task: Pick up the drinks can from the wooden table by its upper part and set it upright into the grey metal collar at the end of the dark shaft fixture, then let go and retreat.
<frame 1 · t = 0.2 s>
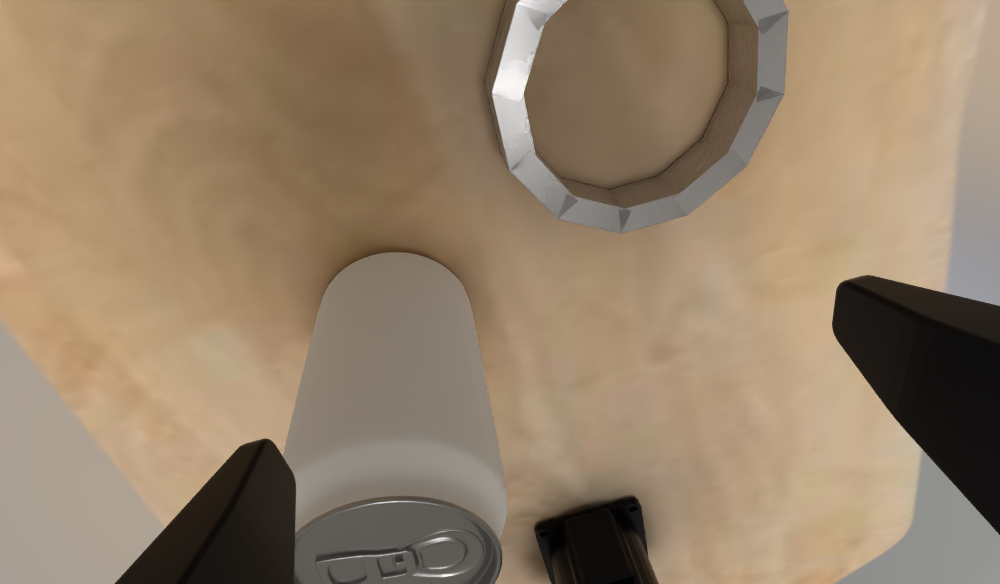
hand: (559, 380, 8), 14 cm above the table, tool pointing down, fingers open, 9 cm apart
can: (397, 310, 24), on the table
shaft seat: (623, 82, 20), on the table
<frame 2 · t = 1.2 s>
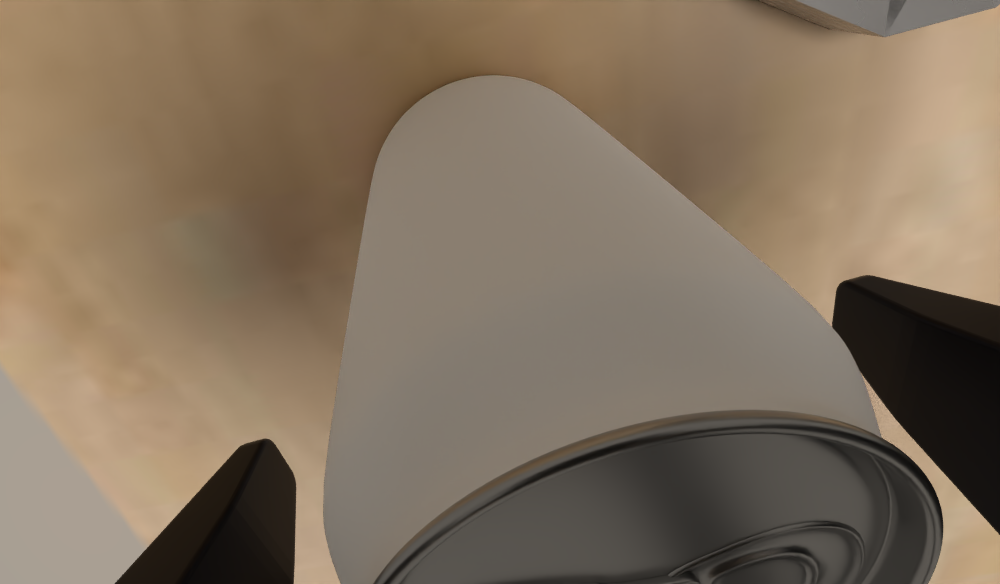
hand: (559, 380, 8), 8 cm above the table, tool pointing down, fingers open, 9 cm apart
can: (489, 191, 16), on the table
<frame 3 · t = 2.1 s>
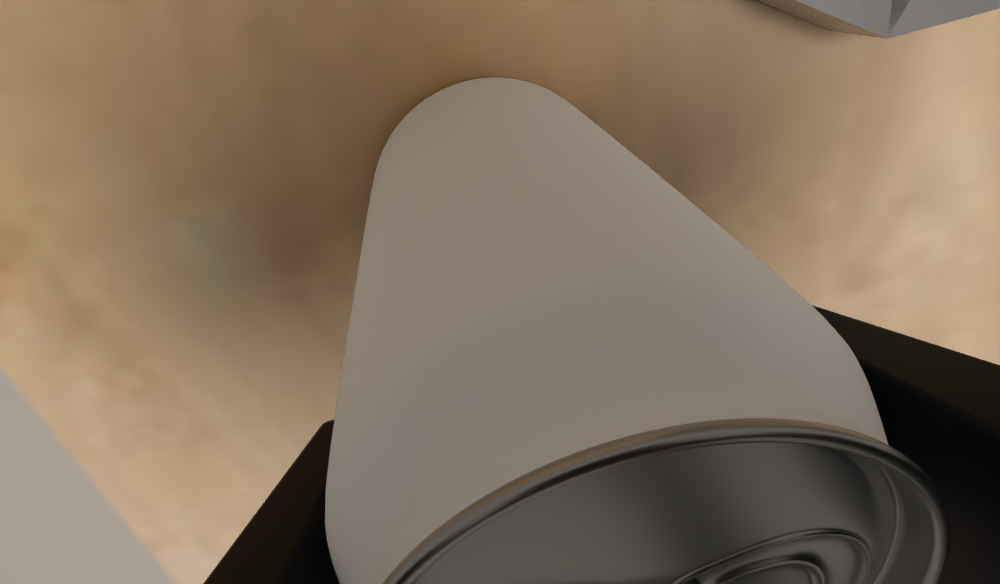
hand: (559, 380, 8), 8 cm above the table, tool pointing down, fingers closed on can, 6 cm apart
can: (490, 193, 15), on the table, touching gripper
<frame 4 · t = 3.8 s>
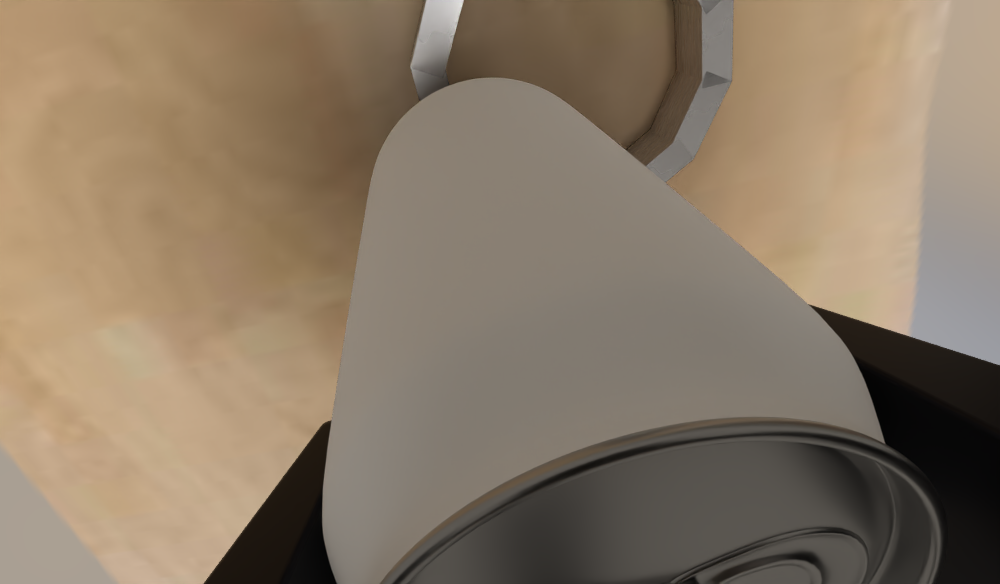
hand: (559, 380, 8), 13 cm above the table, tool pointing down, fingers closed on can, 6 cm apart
can: (488, 193, 15), point 5 cm above the table, touching gripper
shaft seat: (563, 65, 19), on the table
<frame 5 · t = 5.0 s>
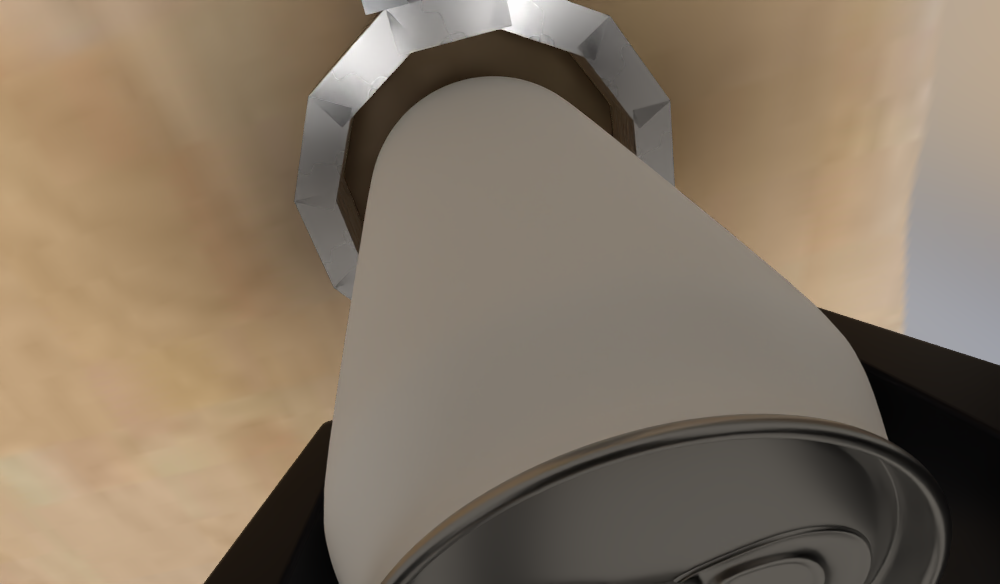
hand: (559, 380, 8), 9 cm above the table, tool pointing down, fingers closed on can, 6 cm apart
can: (488, 192, 15), point 1 cm above the table, touching gripper
shaft seat: (485, 174, 16), on the table
when the fingers open (9 cm above the table, at t = 5.8 s): can drops 1 cm, resting in shaft seat.
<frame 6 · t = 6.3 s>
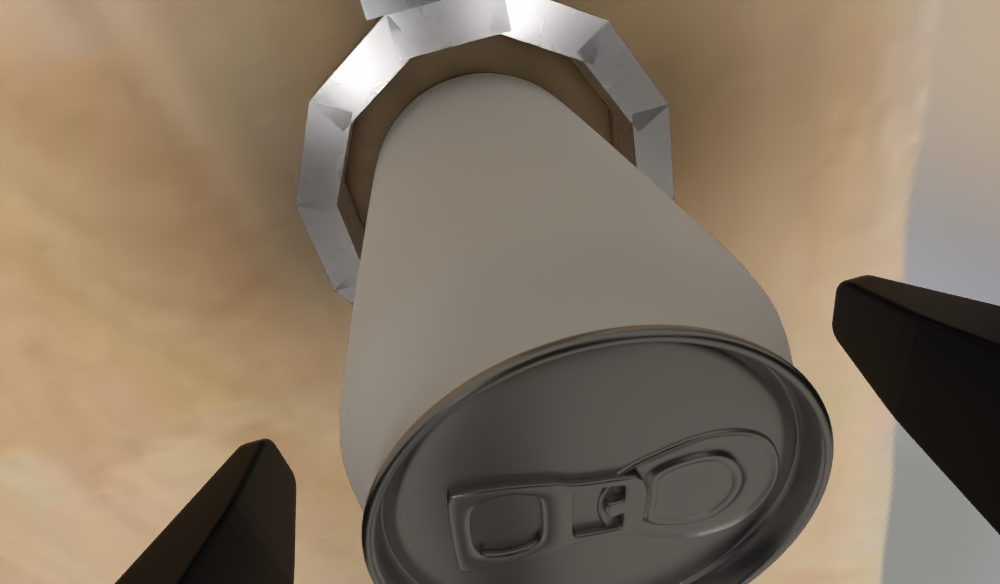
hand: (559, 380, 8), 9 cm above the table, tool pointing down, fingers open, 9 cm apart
can: (483, 180, 17), resting in shaft seat
shaft seat: (485, 177, 17), on the table
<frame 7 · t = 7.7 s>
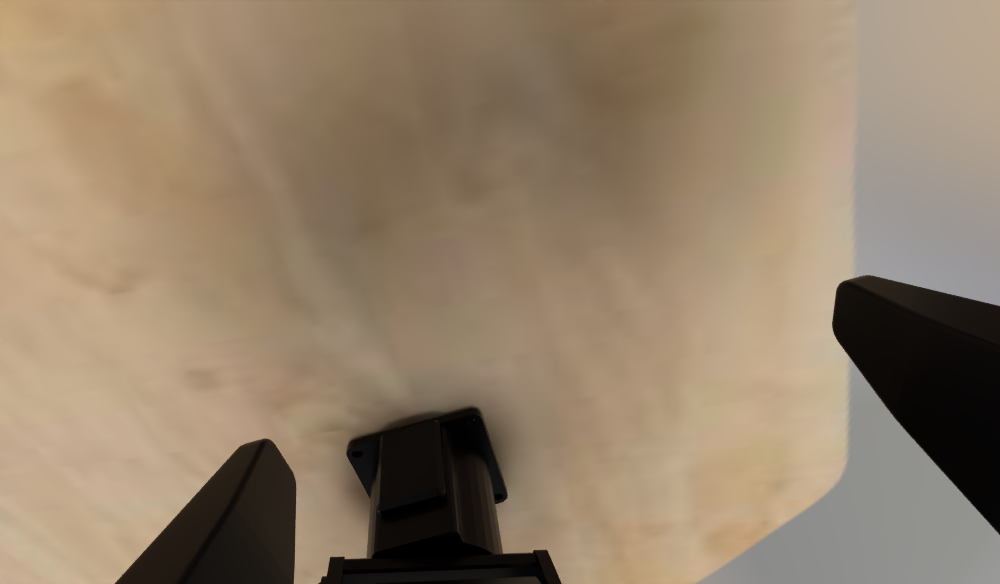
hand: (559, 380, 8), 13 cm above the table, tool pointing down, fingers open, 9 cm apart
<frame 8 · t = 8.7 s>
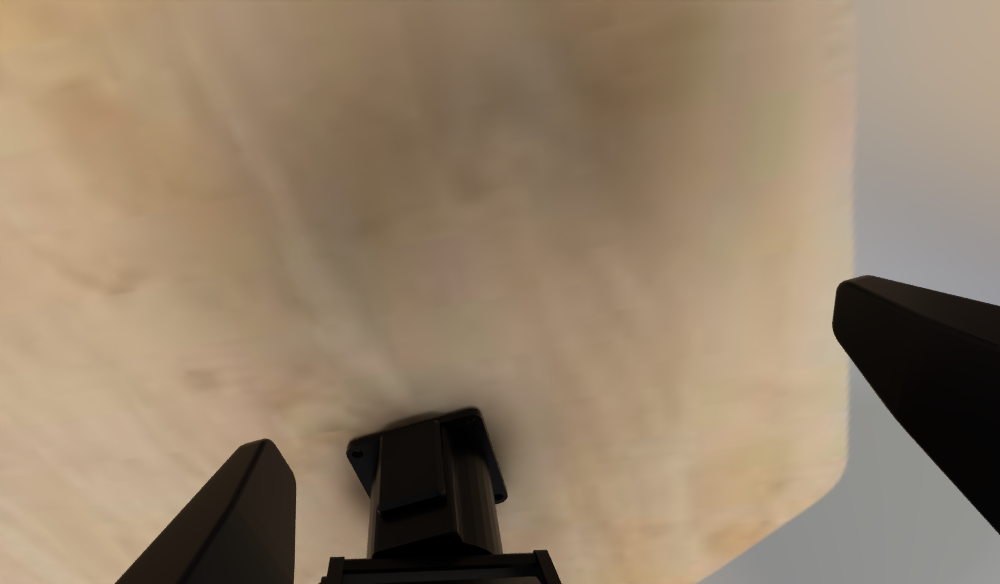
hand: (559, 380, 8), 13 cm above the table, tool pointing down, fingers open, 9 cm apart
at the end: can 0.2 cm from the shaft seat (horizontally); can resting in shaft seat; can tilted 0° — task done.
